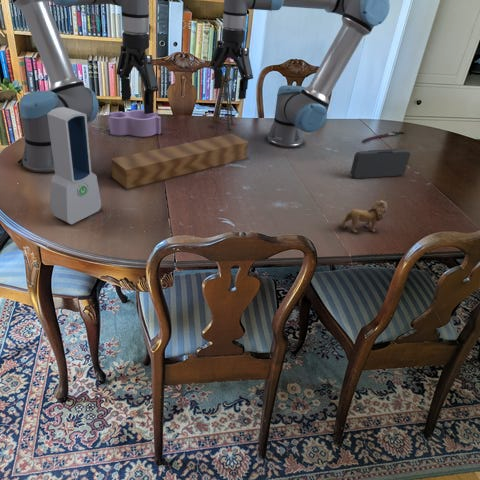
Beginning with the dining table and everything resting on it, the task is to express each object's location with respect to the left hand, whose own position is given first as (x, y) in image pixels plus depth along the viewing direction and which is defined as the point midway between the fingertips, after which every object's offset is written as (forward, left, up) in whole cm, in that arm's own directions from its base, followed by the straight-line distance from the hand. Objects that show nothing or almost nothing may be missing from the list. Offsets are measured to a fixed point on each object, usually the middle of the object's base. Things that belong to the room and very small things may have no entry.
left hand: (137, 106), depth 144 cm
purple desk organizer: (-15, +41, -24) cm, 50 cm away
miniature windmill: (+18, +62, -24) cm, 69 cm away
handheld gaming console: (+83, +29, -24) cm, 92 cm away
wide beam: (+12, +13, -24) cm, 30 cm away
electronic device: (-10, -28, -24) cm, 38 cm away
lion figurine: (+73, -13, -24) cm, 78 cm away
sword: (+92, +75, -24) cm, 122 cm away
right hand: (+25, +27, 0) cm, 37 cm away
